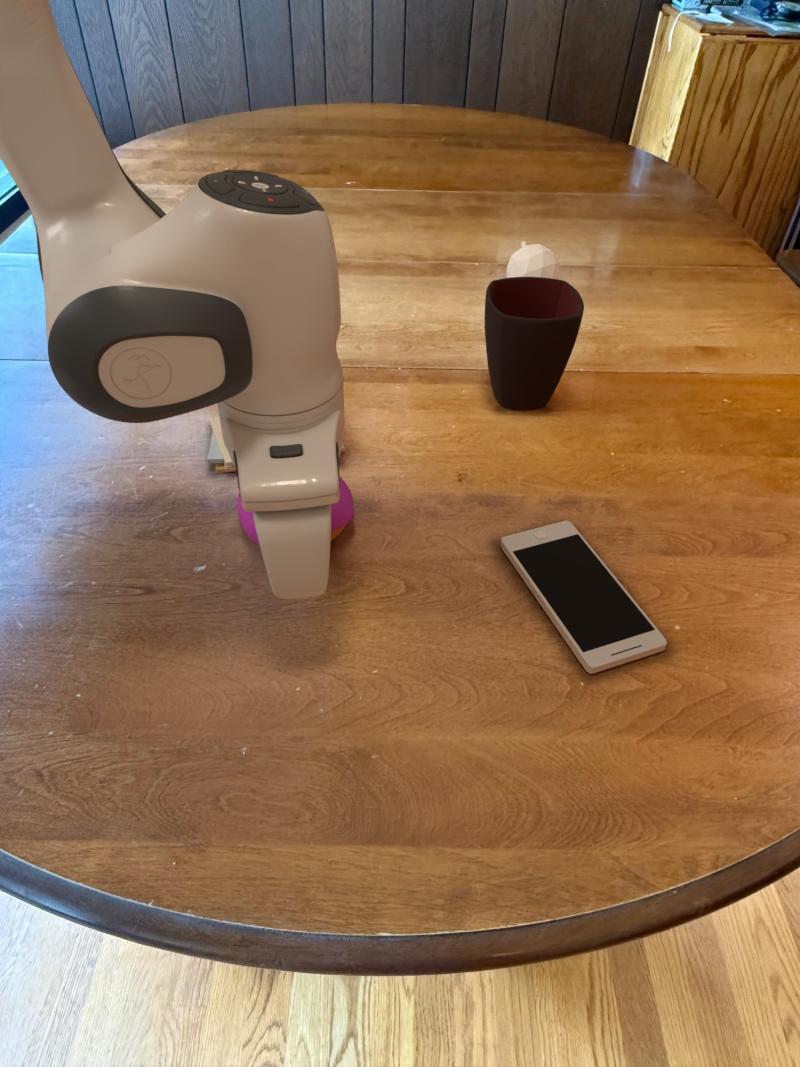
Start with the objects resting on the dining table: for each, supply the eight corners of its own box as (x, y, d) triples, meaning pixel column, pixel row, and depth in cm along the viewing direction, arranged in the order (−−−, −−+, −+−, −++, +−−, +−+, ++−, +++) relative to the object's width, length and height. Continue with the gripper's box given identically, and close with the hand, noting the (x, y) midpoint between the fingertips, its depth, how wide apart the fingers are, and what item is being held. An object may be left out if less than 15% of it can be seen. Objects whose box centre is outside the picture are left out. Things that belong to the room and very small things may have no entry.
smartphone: (567, 526, 72) (569, 518, 71) (666, 650, 61) (669, 642, 60) (498, 544, 70) (499, 536, 69) (588, 675, 59) (590, 668, 58)
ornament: (509, 310, 103) (490, 250, 101) (523, 307, 109) (506, 251, 108) (559, 291, 99) (541, 229, 98) (571, 289, 106) (554, 231, 104)
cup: (481, 422, 84) (492, 320, 76) (468, 356, 94) (476, 260, 86) (572, 421, 84) (593, 320, 76) (549, 356, 94) (565, 260, 86)
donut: (231, 501, 73) (225, 462, 70) (334, 480, 76) (333, 442, 73) (254, 575, 66) (248, 536, 63) (367, 548, 69) (367, 510, 66)
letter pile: (209, 480, 76) (206, 464, 74) (210, 420, 83) (207, 405, 82) (347, 468, 77) (346, 452, 76) (336, 410, 85) (335, 395, 83)
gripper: (236, 345, 62) (254, 479, 72) (240, 511, 48) (263, 652, 57) (314, 340, 63) (322, 473, 73) (342, 501, 48) (348, 642, 58)
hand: (296, 553), depth 65 cm, fingers closed
